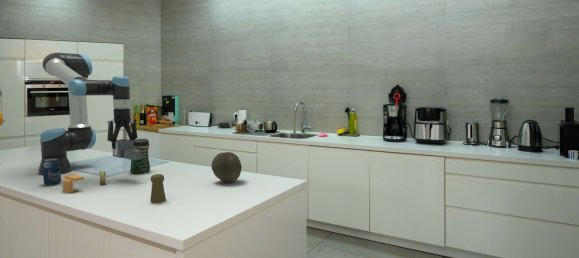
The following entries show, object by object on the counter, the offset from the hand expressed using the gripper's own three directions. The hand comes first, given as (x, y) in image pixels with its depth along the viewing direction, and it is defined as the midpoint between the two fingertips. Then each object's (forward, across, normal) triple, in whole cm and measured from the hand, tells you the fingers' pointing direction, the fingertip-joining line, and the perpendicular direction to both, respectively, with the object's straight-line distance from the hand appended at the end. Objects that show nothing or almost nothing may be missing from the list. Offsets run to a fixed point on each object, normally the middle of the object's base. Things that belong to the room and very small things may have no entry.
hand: (123, 154), depth 181 cm
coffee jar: (+13, +14, +8) cm, 21 cm away
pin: (+13, -11, -1) cm, 17 cm away
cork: (+13, -11, -44) cm, 47 cm away
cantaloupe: (+13, +27, -45) cm, 54 cm away
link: (+1, 0, -5) cm, 5 cm away
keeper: (+13, -25, -1) cm, 28 cm away
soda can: (+14, -25, +19) cm, 34 cm away
